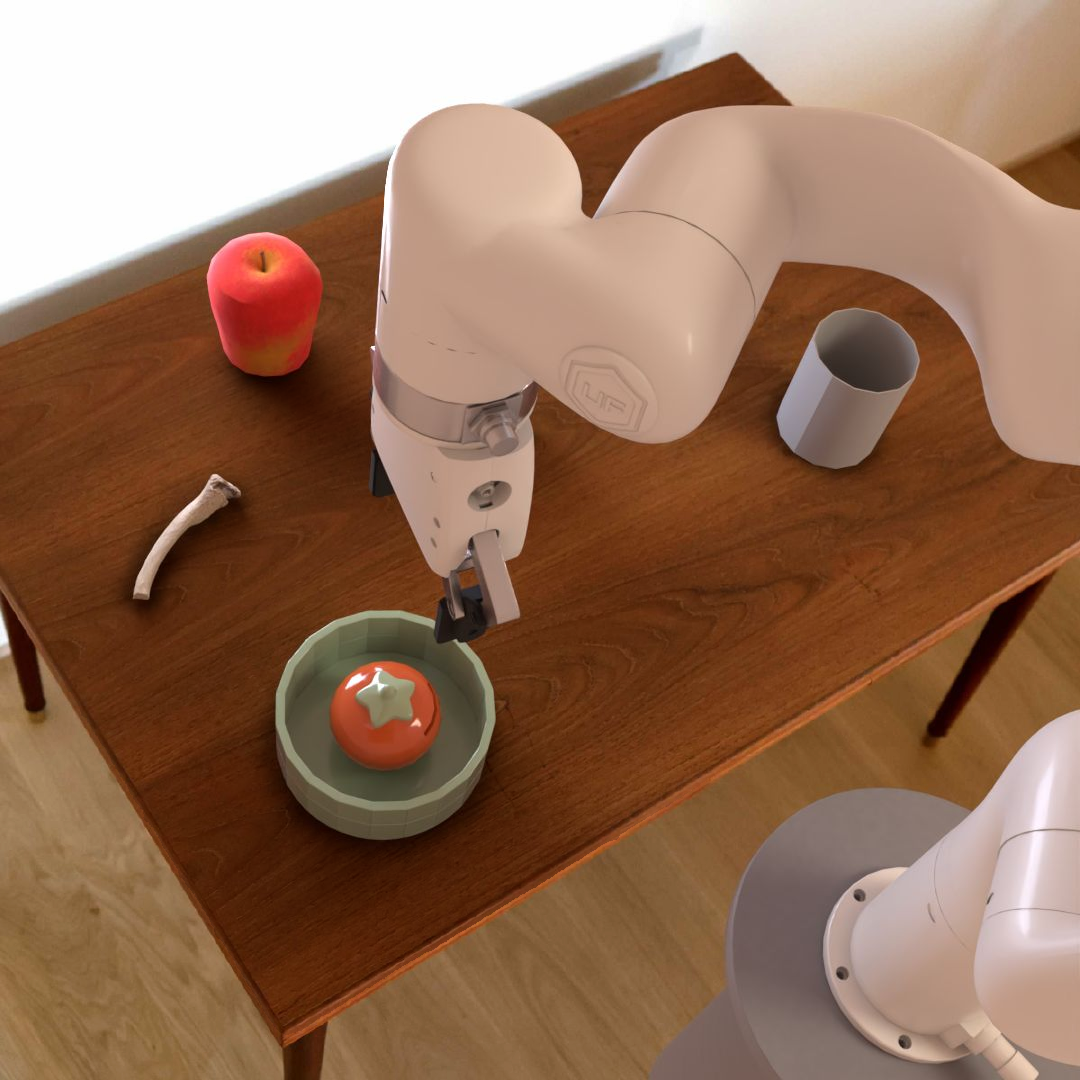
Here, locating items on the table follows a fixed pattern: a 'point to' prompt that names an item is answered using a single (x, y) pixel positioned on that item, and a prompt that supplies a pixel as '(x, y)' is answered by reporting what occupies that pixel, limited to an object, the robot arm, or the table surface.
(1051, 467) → the table surface
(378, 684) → the tomato
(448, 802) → the bowl
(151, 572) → the bone
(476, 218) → the robot arm
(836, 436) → the cup
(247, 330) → the apple
